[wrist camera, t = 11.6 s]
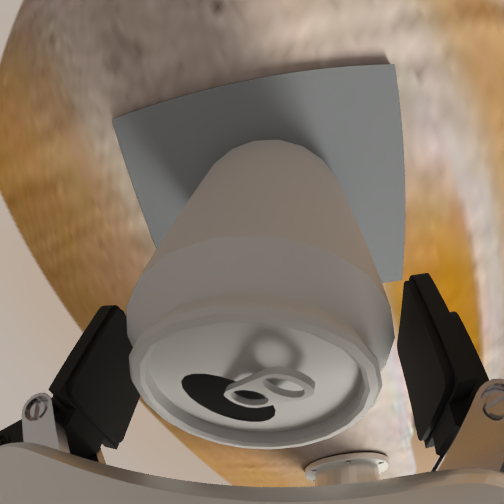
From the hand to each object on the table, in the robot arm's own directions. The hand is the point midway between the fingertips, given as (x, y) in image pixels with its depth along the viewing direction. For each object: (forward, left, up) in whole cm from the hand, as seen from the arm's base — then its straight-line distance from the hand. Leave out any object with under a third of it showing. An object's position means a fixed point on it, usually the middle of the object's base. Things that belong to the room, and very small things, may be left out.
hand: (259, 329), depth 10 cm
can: (0, 0, -9) cm, 9 cm away
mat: (+1, 0, -10) cm, 9 cm away
